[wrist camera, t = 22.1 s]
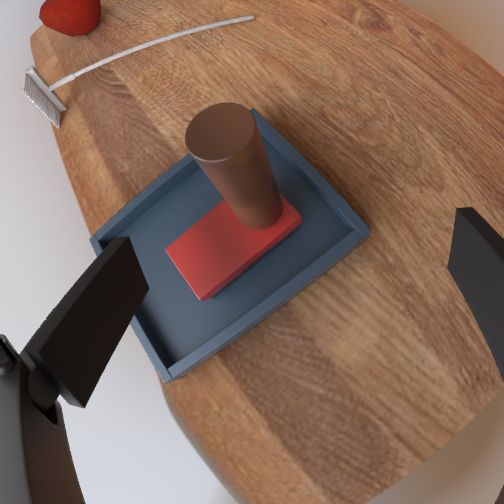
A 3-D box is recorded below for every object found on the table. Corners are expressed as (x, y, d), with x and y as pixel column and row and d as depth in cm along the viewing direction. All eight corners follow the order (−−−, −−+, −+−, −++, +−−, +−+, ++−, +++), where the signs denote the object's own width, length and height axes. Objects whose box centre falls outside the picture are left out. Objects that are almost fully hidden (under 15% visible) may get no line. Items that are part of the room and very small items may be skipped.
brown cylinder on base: (265, 187, 24) (222, 81, 13) (303, 228, 22) (287, 136, 11) (180, 257, 24) (79, 202, 13) (212, 303, 23) (117, 277, 11)
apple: (68, 32, 41) (36, -5, 30) (115, 3, 40) (86, -39, 29) (62, 60, 38) (23, 18, 27) (116, 25, 37) (80, -24, 26)
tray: (258, 123, 26) (252, 107, 24) (366, 239, 22) (371, 230, 20) (103, 245, 27) (88, 239, 25) (178, 379, 23) (164, 383, 20)
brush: (261, 59, 34) (263, 2, 25) (58, 130, 33) (21, 91, 24) (252, 41, 35) (251, -13, 26) (58, 109, 34) (24, 70, 24)
